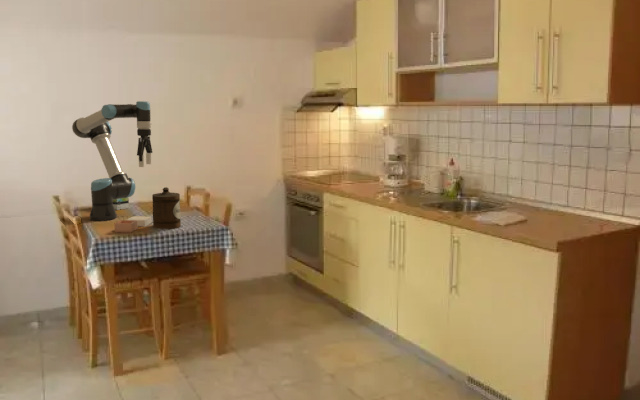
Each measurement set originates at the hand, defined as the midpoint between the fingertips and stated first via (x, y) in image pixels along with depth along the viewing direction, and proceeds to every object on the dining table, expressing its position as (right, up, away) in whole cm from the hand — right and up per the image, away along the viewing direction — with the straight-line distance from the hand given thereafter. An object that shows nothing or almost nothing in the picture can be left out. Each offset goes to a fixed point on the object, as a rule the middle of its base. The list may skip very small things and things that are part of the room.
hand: (145, 165), depth 345 cm
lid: (-1, -34, -10) cm, 35 cm away
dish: (-3, -37, -25) cm, 44 cm away
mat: (-1, -34, -9) cm, 35 cm away
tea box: (-32, -25, +44) cm, 60 cm away
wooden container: (+16, -35, -13) cm, 41 cm away
